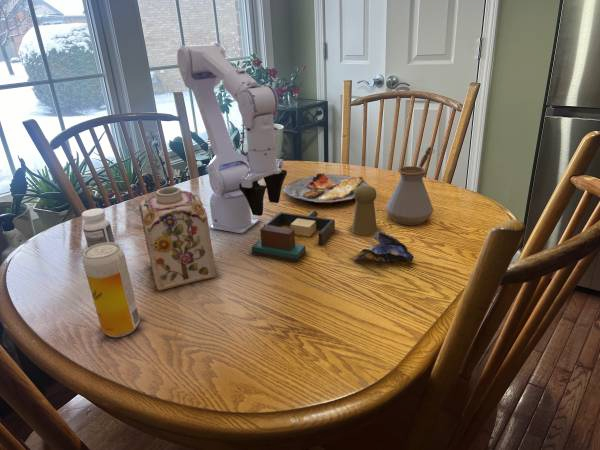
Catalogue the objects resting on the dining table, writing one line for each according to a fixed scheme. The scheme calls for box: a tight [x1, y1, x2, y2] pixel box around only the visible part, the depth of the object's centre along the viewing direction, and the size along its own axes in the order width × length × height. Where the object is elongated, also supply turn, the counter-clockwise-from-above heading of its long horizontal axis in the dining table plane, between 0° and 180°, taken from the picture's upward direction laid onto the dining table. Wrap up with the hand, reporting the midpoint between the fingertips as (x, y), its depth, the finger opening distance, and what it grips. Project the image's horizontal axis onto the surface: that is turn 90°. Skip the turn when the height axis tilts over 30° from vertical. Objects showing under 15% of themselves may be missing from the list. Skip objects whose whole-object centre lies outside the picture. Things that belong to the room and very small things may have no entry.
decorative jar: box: [138, 186, 217, 291], centre depth 87 cm, size 12×12×18 cm
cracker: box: [289, 218, 317, 237], centre depth 106 cm, size 5×4×2 cm
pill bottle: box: [81, 207, 116, 248], centre depth 99 cm, size 6×6×10 cm
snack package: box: [352, 230, 414, 262], centre depth 91 cm, size 12×6×12 cm
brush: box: [251, 225, 307, 264], centre depth 95 cm, size 11×4×6 cm, turn 65°
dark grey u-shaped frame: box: [263, 210, 336, 246], centre depth 107 cm, size 15×13×3 cm
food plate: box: [282, 172, 370, 204], centre depth 129 cm, size 25×23×4 cm
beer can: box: [81, 242, 140, 338], centre depth 71 cm, size 6×6×15 cm
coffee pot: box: [385, 146, 436, 226], centre depth 111 cm, size 21×12×15 cm, turn 149°
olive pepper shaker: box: [351, 185, 378, 237], centre depth 103 cm, size 6×6×11 cm
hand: (266, 208), depth 96 cm, fingers open, 7 cm apart
